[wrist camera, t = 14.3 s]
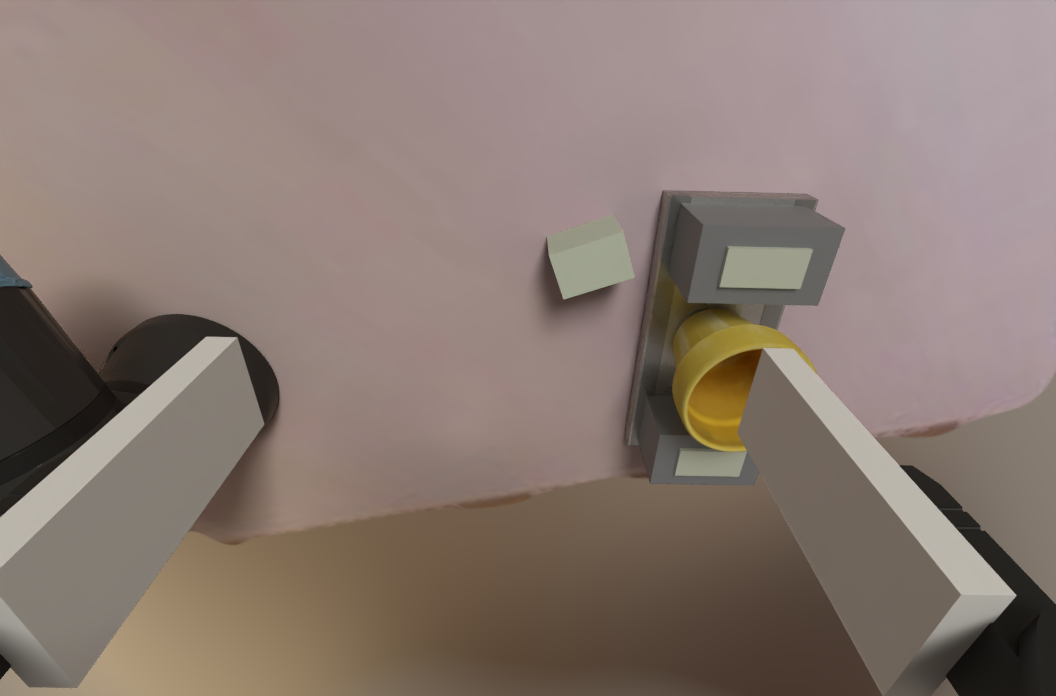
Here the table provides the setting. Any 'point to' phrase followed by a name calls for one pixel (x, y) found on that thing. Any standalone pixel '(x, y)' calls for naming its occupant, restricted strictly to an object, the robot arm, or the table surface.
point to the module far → (686, 451)
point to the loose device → (590, 256)
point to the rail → (671, 307)
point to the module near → (752, 253)
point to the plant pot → (719, 373)
